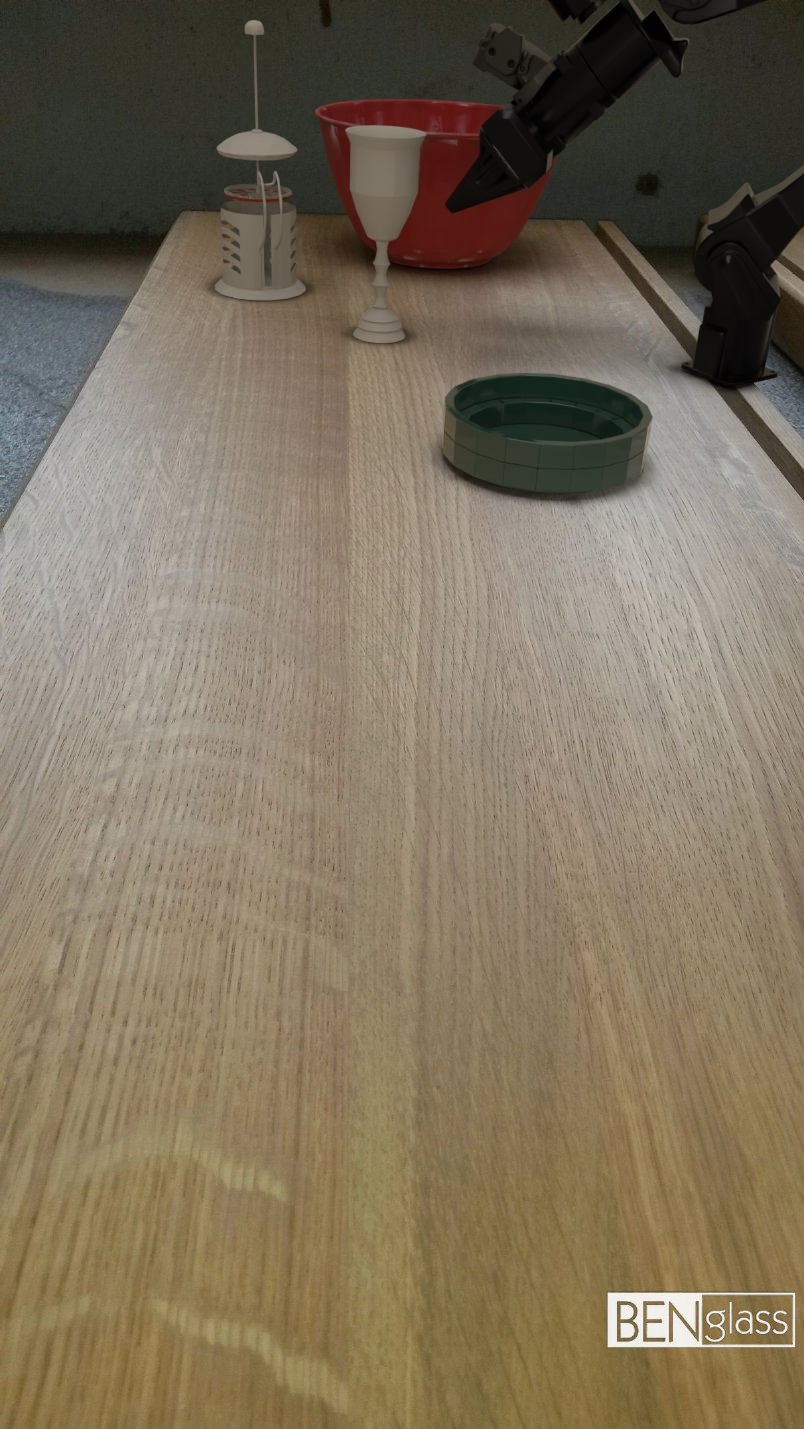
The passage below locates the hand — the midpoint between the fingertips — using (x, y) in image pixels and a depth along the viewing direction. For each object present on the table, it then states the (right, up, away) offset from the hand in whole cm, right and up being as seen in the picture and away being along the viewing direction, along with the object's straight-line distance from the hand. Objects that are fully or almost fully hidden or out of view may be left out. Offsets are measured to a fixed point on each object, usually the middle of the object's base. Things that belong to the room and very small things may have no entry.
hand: (458, 198), depth 110 cm
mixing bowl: (-1, +8, +36) cm, 37 cm away
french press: (-20, -1, +20) cm, 28 cm away
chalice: (-7, -10, +8) cm, 15 cm away
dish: (+6, -27, -16) cm, 32 cm away
